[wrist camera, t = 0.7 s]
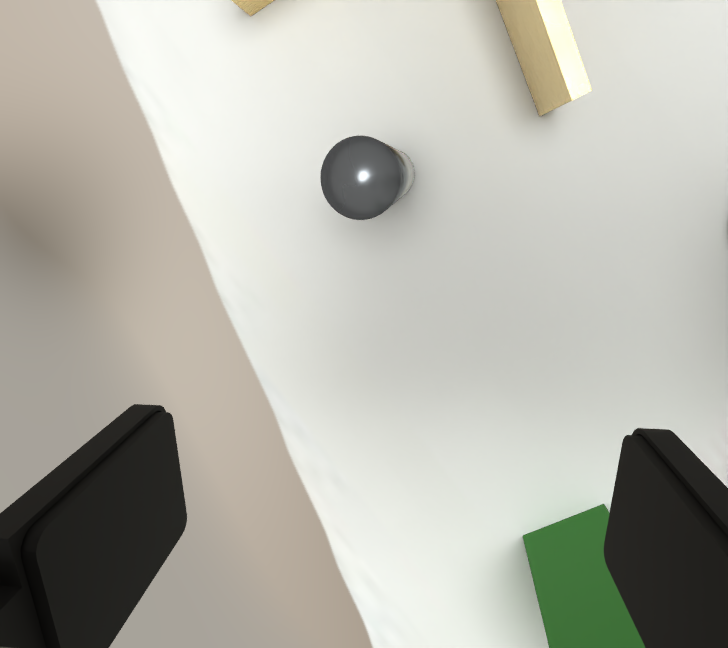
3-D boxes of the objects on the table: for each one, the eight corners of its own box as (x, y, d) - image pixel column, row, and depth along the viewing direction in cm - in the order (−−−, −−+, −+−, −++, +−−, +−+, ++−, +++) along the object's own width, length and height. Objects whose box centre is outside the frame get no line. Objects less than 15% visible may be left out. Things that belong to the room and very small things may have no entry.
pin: (402, 140, 33) (378, 120, 19) (422, 185, 34) (413, 197, 20) (359, 163, 34) (306, 160, 20) (379, 207, 35) (343, 233, 21)
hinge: (485, -227, 27) (508, -408, 18) (594, 88, 31) (654, 58, 22) (223, -39, 32) (146, -115, 23) (347, 214, 36) (320, 228, 27)
